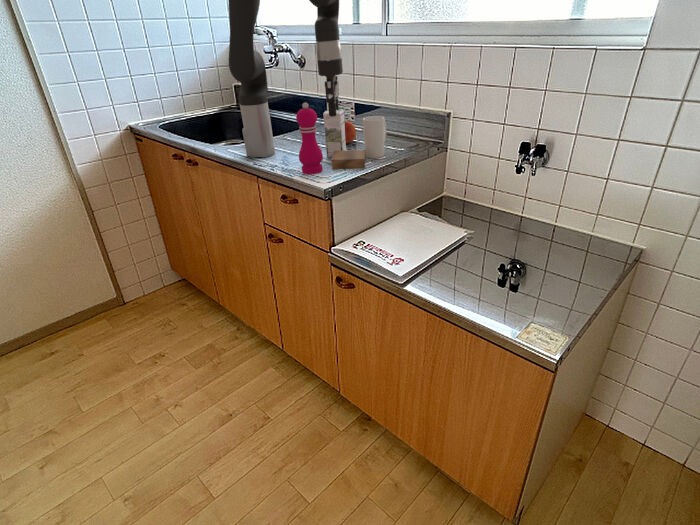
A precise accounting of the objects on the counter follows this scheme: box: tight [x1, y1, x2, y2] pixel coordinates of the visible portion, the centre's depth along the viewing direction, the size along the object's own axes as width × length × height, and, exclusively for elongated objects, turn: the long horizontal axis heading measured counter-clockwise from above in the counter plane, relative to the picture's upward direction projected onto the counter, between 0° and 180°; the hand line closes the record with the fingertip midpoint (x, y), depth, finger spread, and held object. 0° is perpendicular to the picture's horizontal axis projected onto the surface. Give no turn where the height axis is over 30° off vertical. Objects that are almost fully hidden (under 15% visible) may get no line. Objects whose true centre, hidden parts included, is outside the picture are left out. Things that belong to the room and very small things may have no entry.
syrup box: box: [322, 109, 347, 159], centre depth 140 cm, size 6×6×14 cm
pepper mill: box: [296, 102, 324, 175], centre depth 125 cm, size 7×7×20 cm
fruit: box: [344, 120, 357, 144], centre depth 155 cm, size 8×8×8 cm
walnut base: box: [331, 149, 367, 171], centre depth 133 cm, size 10×10×3 cm
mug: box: [362, 115, 387, 160], centre depth 138 cm, size 10×7×12 cm, turn 141°
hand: (334, 113), depth 136 cm, fingers open, 8 cm apart
